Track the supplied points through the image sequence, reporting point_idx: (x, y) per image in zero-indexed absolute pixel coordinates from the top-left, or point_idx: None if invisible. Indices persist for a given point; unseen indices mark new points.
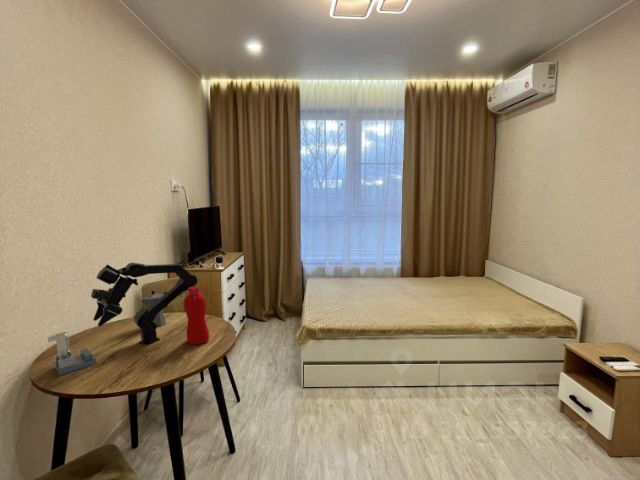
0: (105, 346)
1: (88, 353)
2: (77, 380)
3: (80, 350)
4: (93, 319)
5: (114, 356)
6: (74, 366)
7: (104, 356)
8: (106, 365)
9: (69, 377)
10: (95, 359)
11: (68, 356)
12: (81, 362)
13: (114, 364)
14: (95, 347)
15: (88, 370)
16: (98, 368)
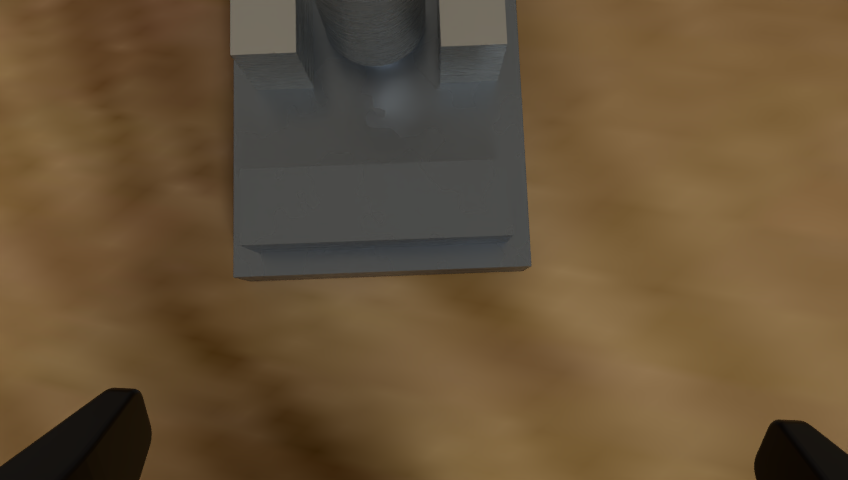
0: (694, 476)
1: (304, 215)
2: (3, 70)
3: (497, 164)
4: (786, 423)
5: (284, 471)
6: (236, 75)
7: (379, 389)
8: (111, 344)
9: (133, 30)
10: (237, 272)
11: (316, 3)
12: (259, 140)
13: (64, 412)
14: (756, 379)
15: (143, 185)
16: (106, 267)
